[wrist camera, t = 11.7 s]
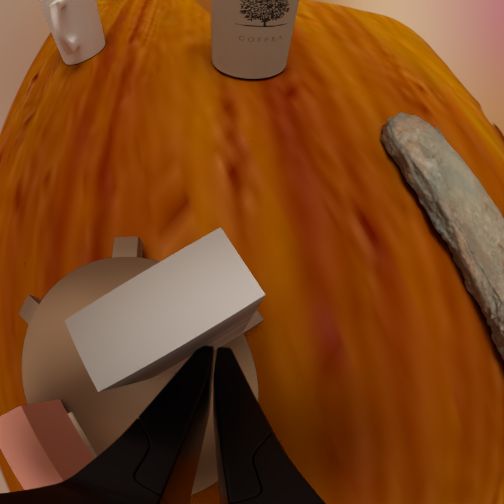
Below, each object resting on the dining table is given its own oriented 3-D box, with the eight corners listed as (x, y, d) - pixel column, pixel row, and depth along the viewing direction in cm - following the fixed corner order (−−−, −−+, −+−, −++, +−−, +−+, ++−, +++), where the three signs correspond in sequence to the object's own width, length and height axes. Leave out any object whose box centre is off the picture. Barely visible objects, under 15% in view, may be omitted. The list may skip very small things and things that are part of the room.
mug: (68, 48, 28) (48, -14, 17) (110, 34, 29) (95, -33, 18) (51, 86, 25) (19, 13, 14) (99, 69, 26) (75, -13, 15)
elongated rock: (409, 126, 28) (349, 153, 26) (426, 94, 23) (364, 114, 21) (554, 370, 17) (516, 434, 15) (584, 364, 12) (550, 436, 10)
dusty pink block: (59, 399, 13) (20, 405, 9) (113, 485, 11) (87, 511, 8) (26, 416, 12) (-12, 422, 8) (75, 496, 10) (46, 519, 7)
